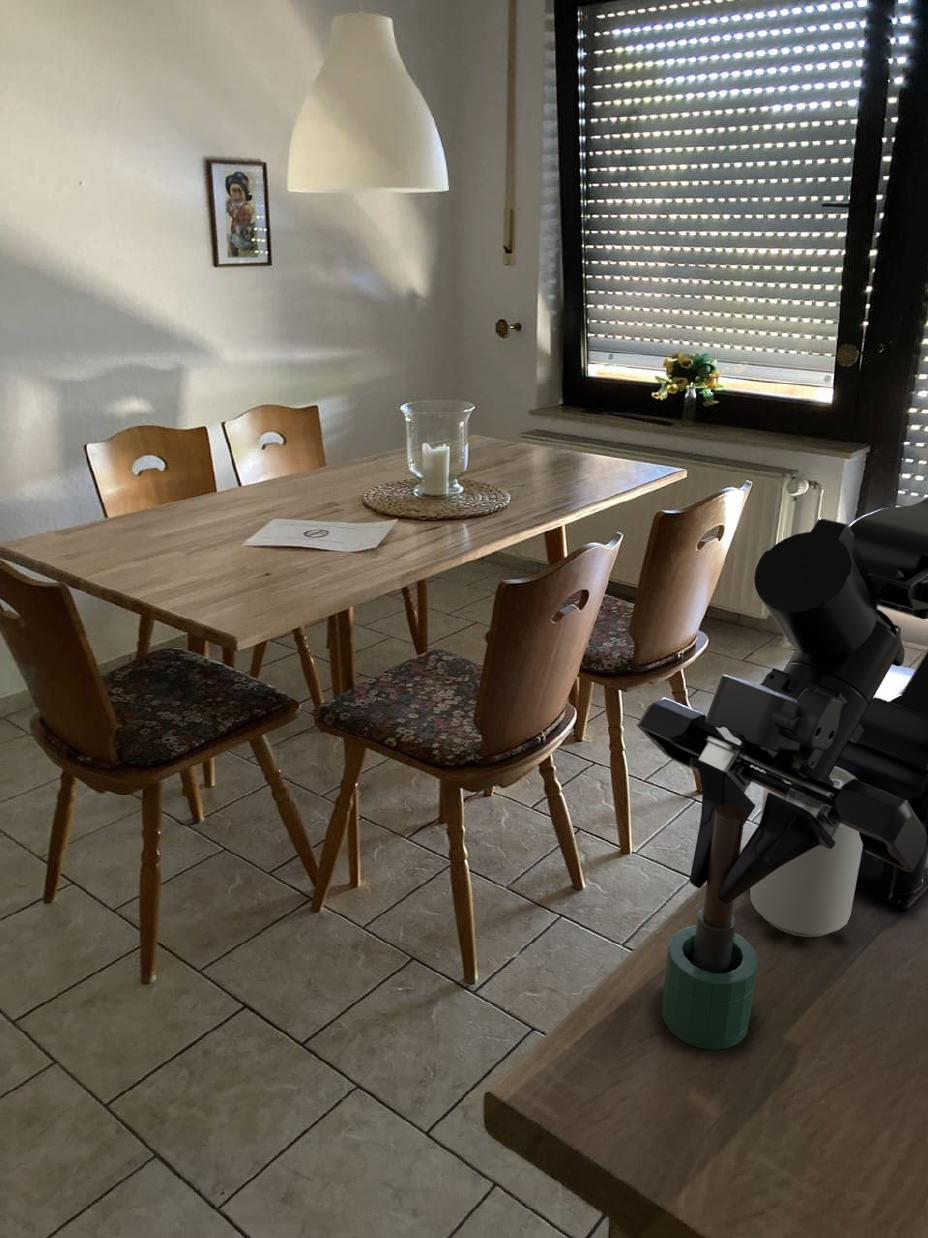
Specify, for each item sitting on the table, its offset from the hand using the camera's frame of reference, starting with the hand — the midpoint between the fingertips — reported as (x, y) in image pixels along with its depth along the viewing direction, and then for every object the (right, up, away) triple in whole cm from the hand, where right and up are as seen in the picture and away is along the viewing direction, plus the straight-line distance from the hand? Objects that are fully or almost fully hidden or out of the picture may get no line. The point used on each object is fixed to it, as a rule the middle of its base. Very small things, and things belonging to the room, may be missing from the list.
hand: (707, 893), depth 65 cm
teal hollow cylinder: (+1, -10, +5) cm, 11 cm away
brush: (+1, -6, +3) cm, 7 cm away
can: (+11, -6, +16) cm, 20 cm away
